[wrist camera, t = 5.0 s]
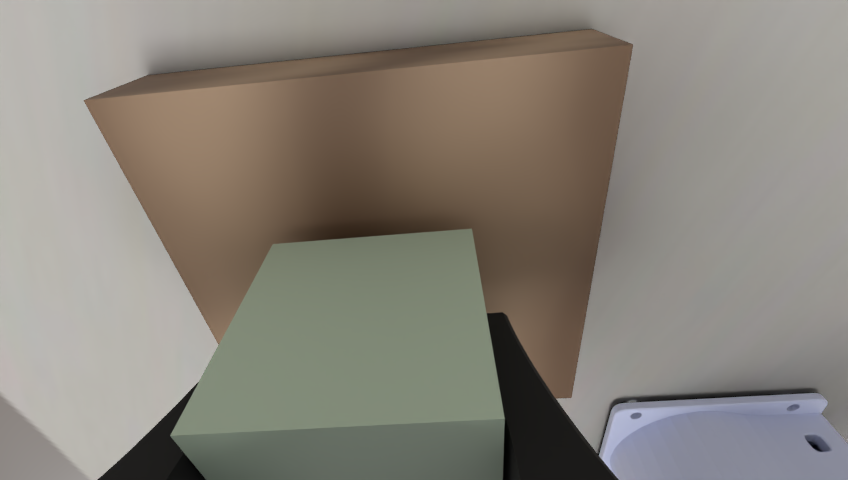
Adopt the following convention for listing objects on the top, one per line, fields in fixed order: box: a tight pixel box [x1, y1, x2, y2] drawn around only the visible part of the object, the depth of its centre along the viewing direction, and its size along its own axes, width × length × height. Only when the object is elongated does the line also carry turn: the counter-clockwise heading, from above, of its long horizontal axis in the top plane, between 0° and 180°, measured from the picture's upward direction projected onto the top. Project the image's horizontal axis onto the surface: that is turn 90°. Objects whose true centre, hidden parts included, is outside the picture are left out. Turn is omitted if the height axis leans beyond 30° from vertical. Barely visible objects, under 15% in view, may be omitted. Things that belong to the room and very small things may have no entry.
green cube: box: [170, 229, 505, 480], centre depth 9 cm, size 5×5×5 cm
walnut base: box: [84, 29, 633, 398], centre depth 13 cm, size 12×12×2 cm
